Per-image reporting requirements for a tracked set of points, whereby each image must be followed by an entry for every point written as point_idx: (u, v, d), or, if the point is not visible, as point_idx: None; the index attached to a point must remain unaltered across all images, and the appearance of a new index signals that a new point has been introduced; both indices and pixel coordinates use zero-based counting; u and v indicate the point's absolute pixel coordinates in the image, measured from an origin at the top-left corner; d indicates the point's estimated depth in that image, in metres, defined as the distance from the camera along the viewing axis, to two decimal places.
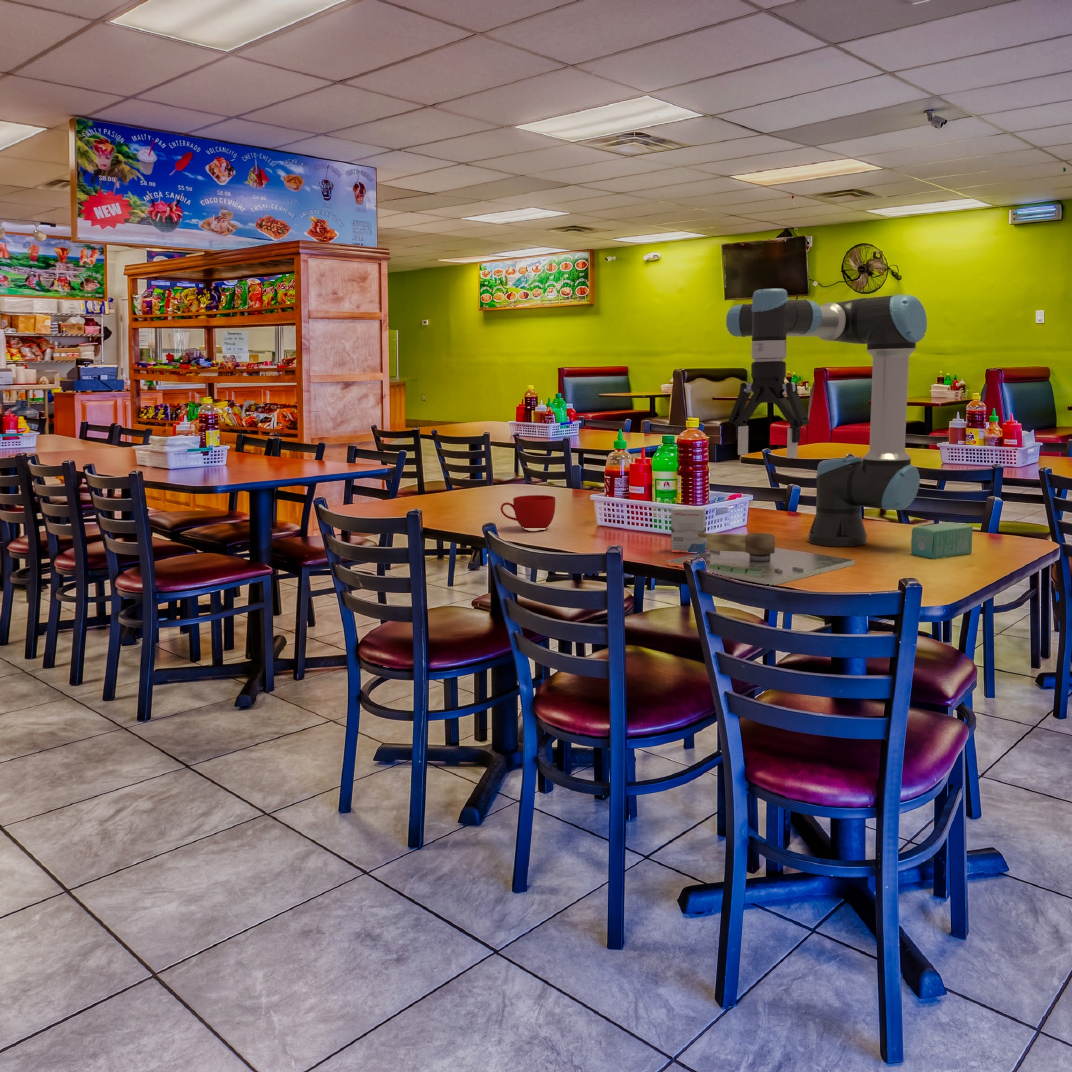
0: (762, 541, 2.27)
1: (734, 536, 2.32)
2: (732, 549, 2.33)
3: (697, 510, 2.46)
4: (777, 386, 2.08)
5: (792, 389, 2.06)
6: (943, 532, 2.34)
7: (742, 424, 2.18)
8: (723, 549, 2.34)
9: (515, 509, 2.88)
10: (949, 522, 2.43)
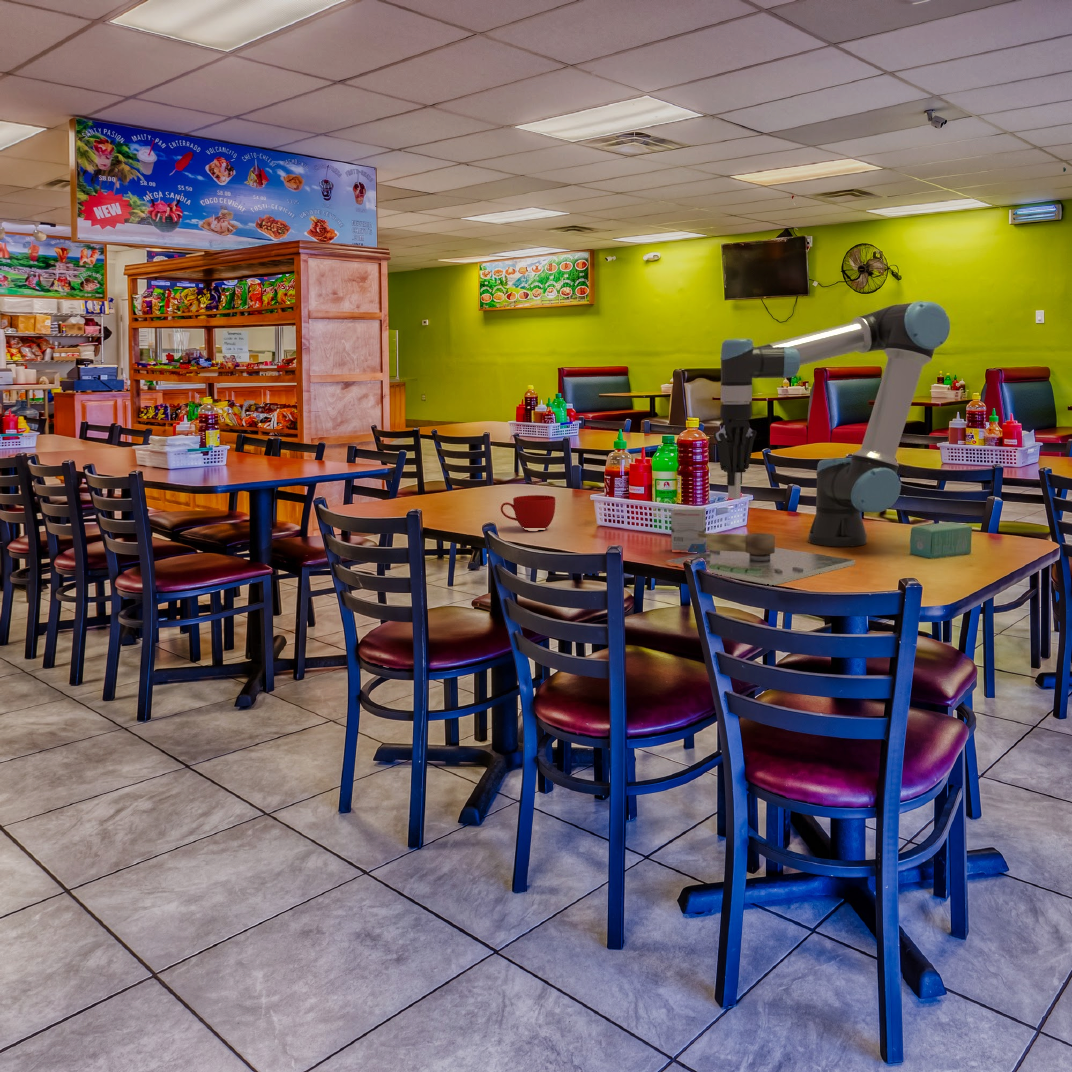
0: (762, 541, 2.27)
1: (734, 536, 2.32)
2: (732, 549, 2.33)
3: (697, 510, 2.46)
4: None
5: (717, 439, 2.31)
6: (942, 532, 2.34)
7: (737, 469, 2.35)
8: (723, 549, 2.34)
9: (515, 509, 2.88)
10: (949, 522, 2.44)
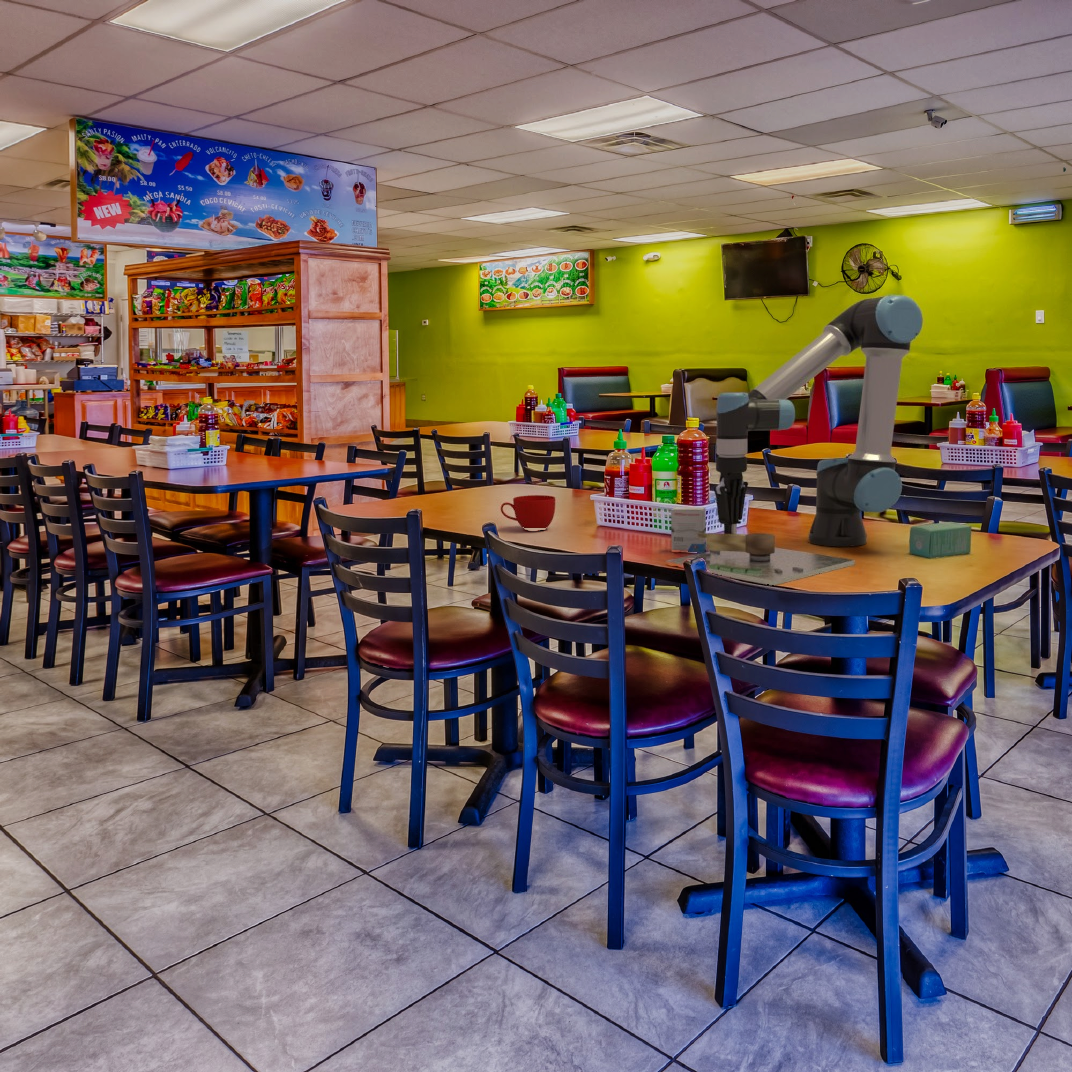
0: (762, 541, 2.27)
1: (734, 536, 2.32)
2: (732, 549, 2.33)
3: (697, 510, 2.46)
4: None
5: (717, 493, 2.31)
6: (941, 532, 2.35)
7: None
8: (723, 549, 2.34)
9: (515, 509, 2.88)
10: (949, 522, 2.44)
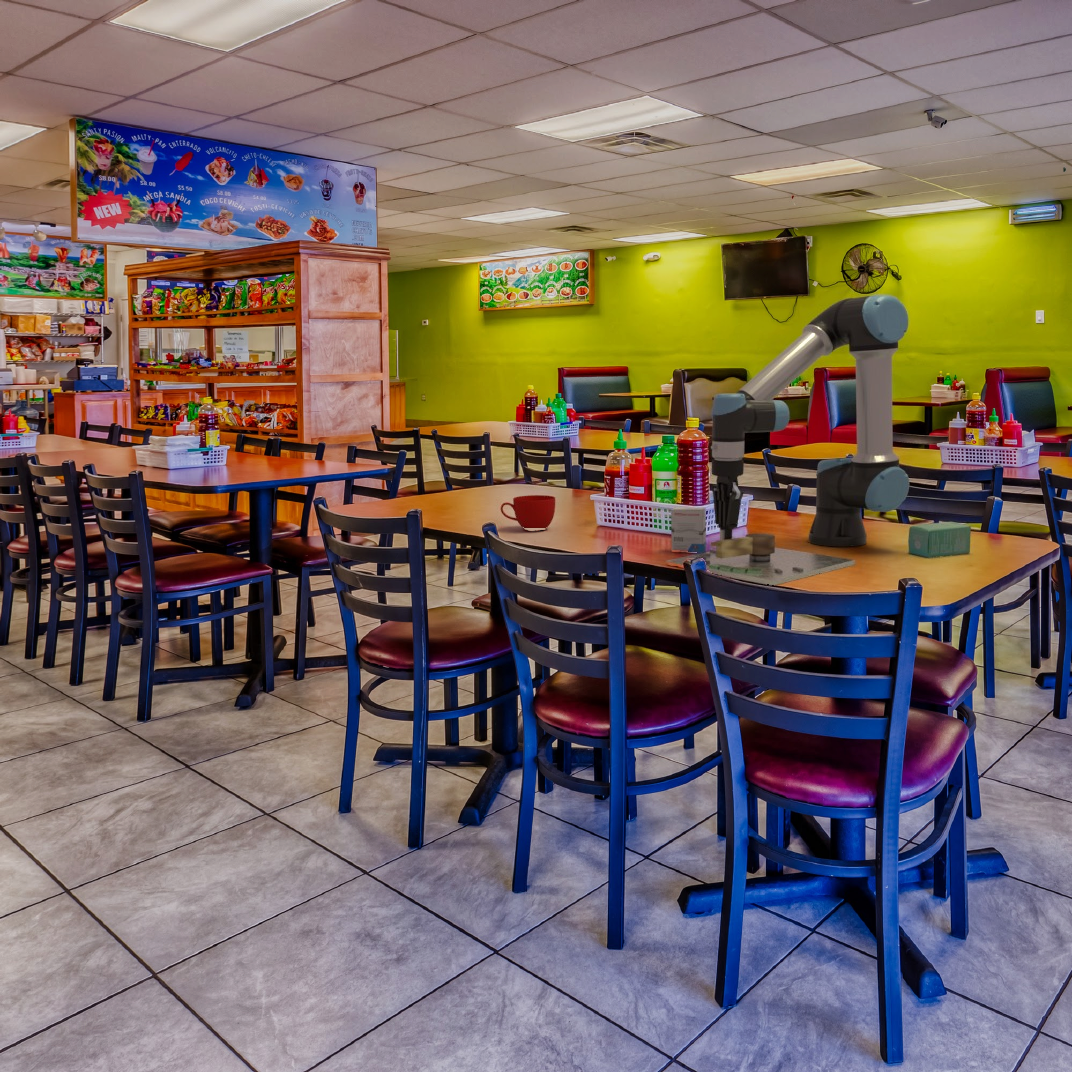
0: (773, 540, 2.29)
1: (744, 540, 2.27)
2: (742, 553, 2.27)
3: (697, 510, 2.46)
4: (729, 485, 2.24)
5: (734, 498, 2.22)
6: (939, 531, 2.35)
7: None
8: (735, 555, 2.26)
9: (515, 509, 2.88)
10: None
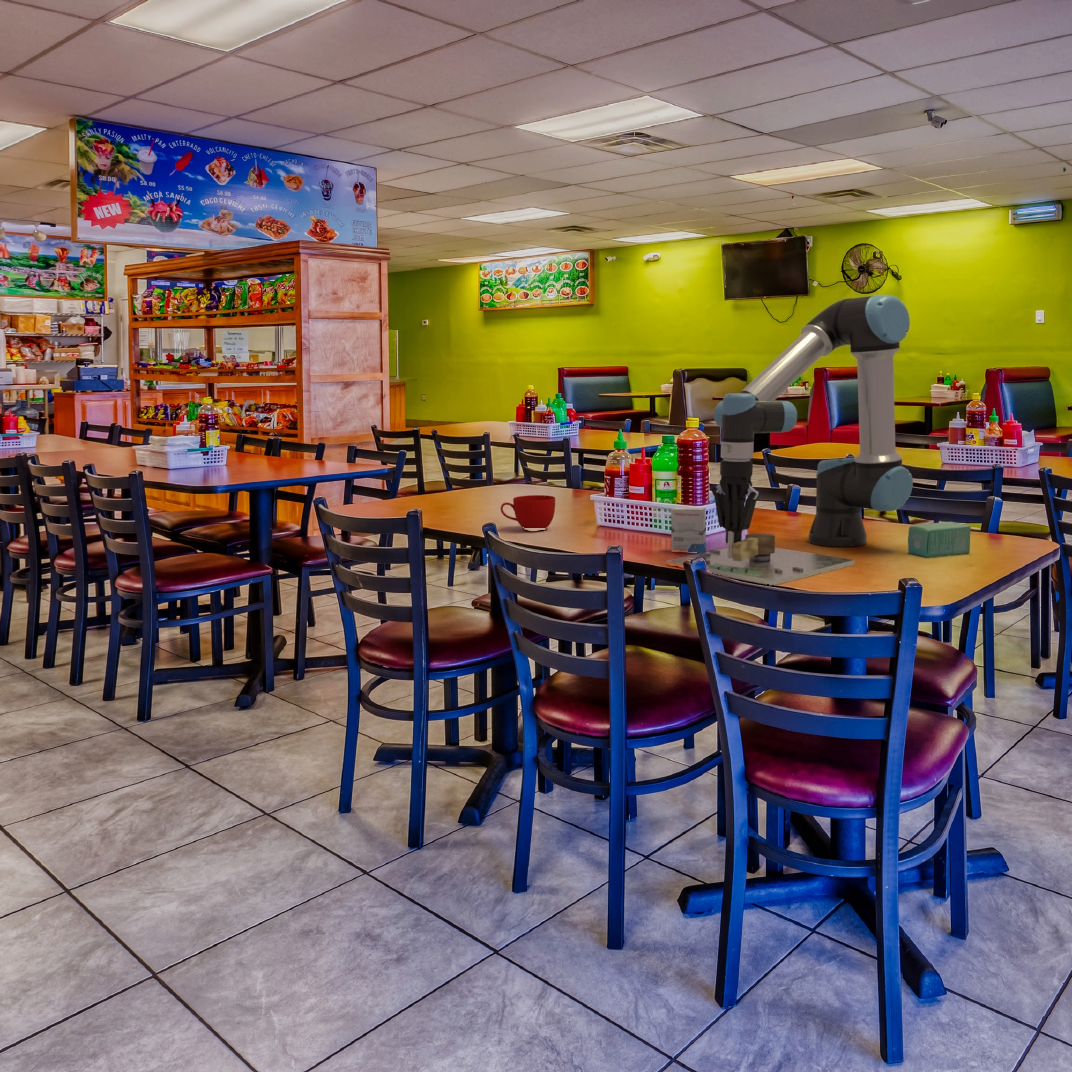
0: (774, 539, 2.30)
1: (753, 541, 2.25)
2: (752, 554, 2.26)
3: (697, 510, 2.46)
4: (744, 486, 2.20)
5: (753, 499, 2.20)
6: (939, 531, 2.35)
7: (732, 527, 2.26)
8: (748, 556, 2.24)
9: (515, 509, 2.88)
10: None
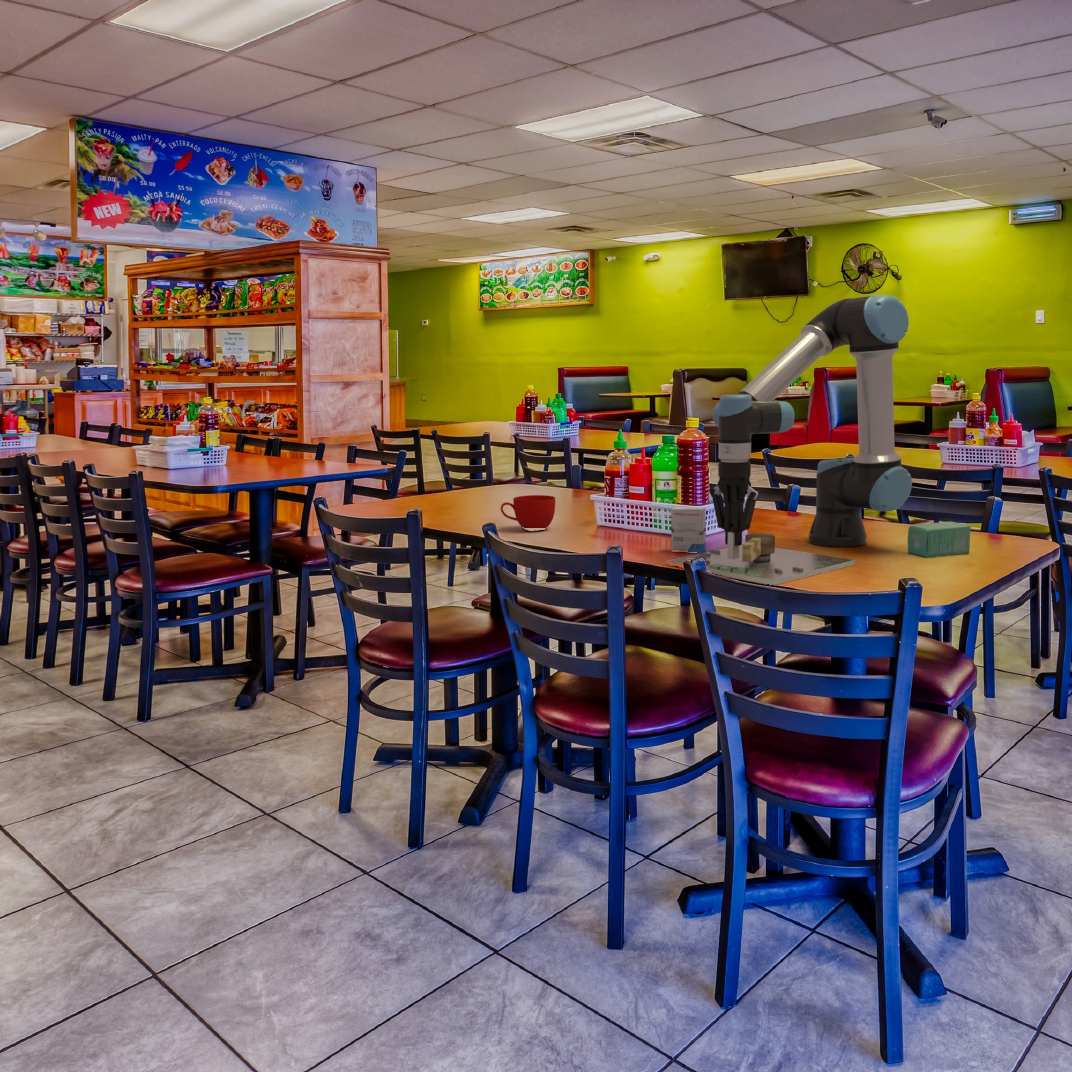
0: None
1: (758, 541, 2.25)
2: (757, 555, 2.25)
3: (697, 510, 2.46)
4: (743, 486, 2.21)
5: (753, 499, 2.20)
6: (938, 531, 2.36)
7: (731, 528, 2.27)
8: (755, 557, 2.23)
9: (515, 509, 2.88)
10: None
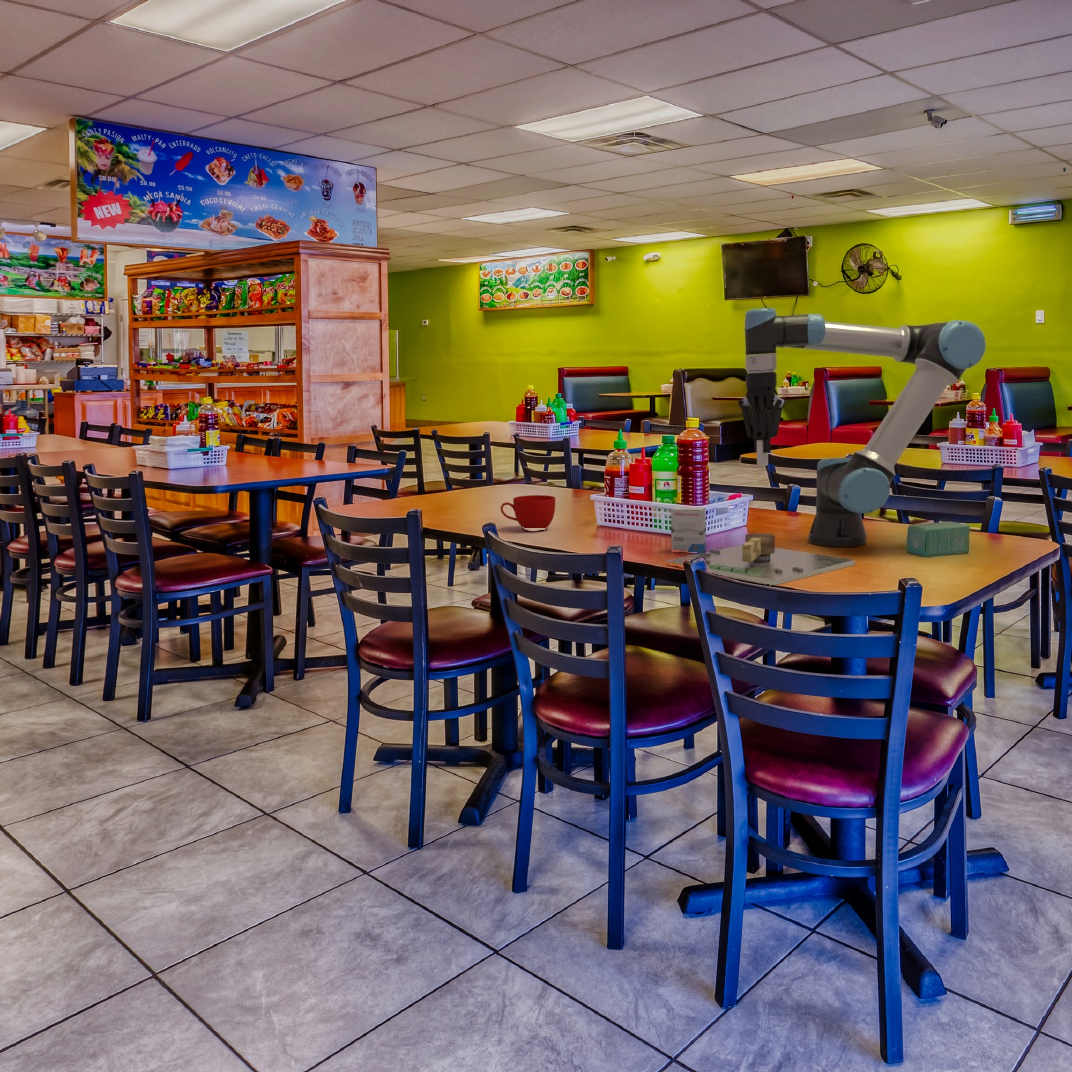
0: None
1: (758, 541, 2.25)
2: (757, 555, 2.25)
3: (697, 510, 2.46)
4: (770, 395, 2.35)
5: (779, 406, 2.34)
6: (937, 531, 2.36)
7: (760, 436, 2.40)
8: (755, 557, 2.23)
9: (515, 509, 2.88)
10: (949, 521, 2.45)
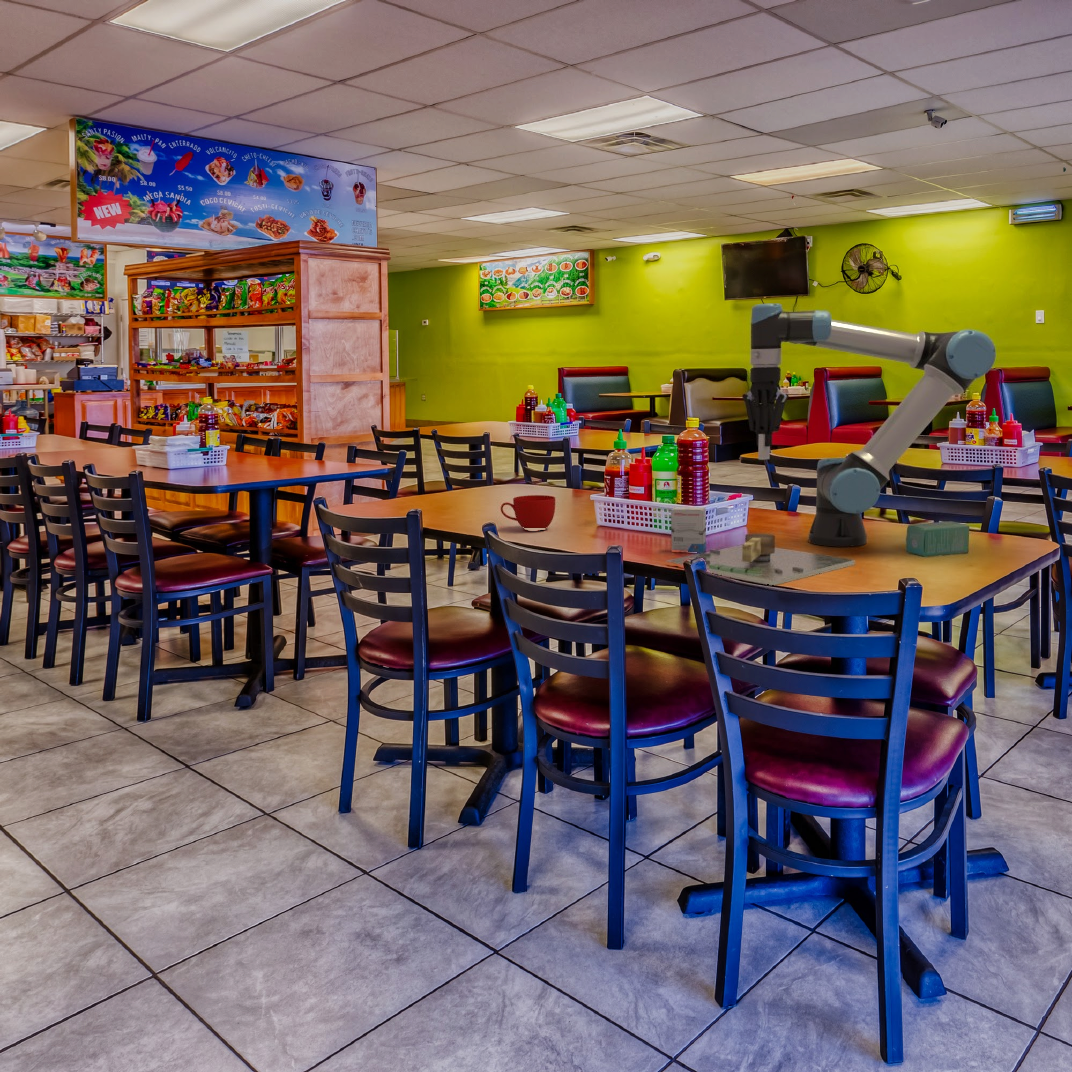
0: None
1: (758, 541, 2.25)
2: (757, 555, 2.25)
3: (697, 510, 2.46)
4: (773, 389, 2.38)
5: (781, 401, 2.37)
6: (936, 531, 2.36)
7: (762, 430, 2.43)
8: (755, 557, 2.23)
9: (515, 509, 2.88)
10: (949, 521, 2.45)
